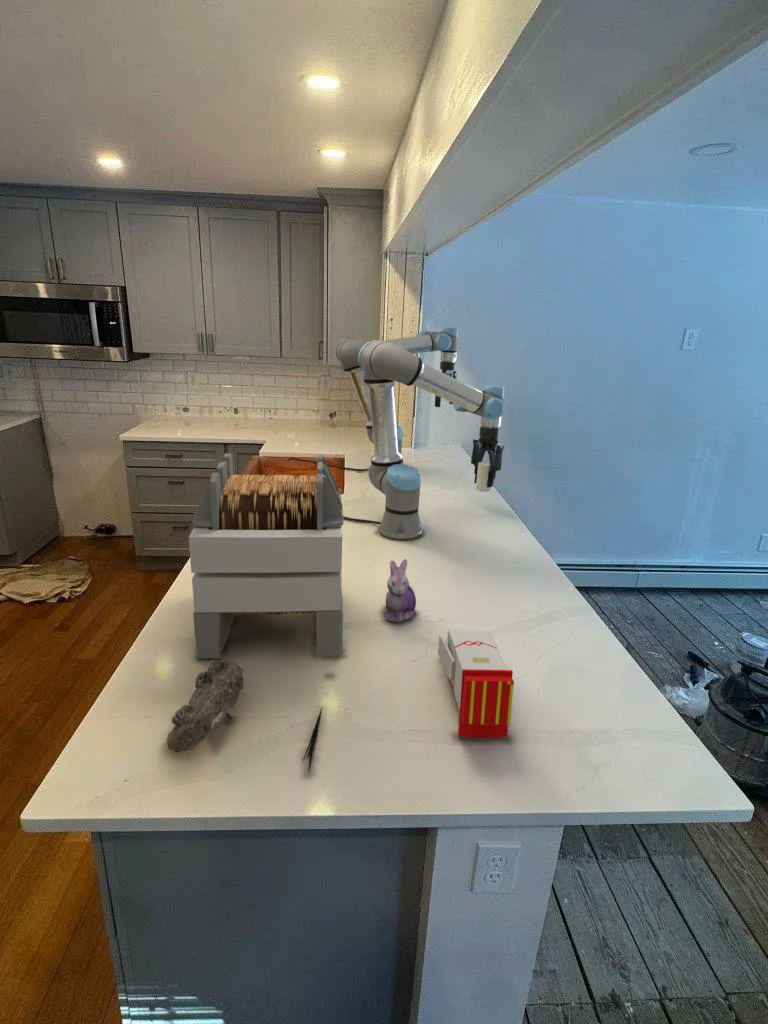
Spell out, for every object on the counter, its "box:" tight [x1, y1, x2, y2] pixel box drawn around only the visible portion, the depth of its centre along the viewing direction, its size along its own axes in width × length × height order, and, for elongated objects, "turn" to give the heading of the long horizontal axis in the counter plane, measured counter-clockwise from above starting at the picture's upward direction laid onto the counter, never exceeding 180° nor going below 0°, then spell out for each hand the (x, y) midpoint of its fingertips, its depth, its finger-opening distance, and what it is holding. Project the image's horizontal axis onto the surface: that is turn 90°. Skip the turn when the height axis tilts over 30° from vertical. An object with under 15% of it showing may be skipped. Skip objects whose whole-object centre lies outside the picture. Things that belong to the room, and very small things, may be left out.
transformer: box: [188, 452, 345, 660], centre depth 135 cm, size 34×33×41 cm
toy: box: [437, 628, 515, 738], centre depth 117 cm, size 12×13×30 cm
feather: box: [301, 673, 332, 771], centre depth 108 cm, size 2×28×2 cm
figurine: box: [384, 558, 417, 623], centre depth 145 cm, size 9×10×15 cm
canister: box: [475, 461, 492, 493], centre depth 223 cm, size 6×6×11 cm
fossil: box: [166, 658, 245, 754], centre depth 106 cm, size 22×10×15 cm
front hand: (483, 484), depth 224 cm, fingers closed on canister, 6 cm apart
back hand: (444, 405), depth 281 cm, fingers open, 13 cm apart
